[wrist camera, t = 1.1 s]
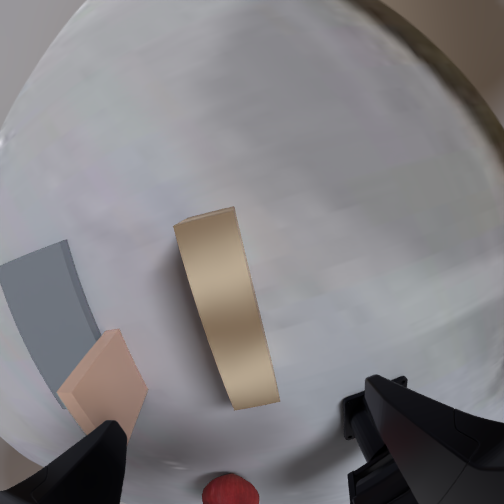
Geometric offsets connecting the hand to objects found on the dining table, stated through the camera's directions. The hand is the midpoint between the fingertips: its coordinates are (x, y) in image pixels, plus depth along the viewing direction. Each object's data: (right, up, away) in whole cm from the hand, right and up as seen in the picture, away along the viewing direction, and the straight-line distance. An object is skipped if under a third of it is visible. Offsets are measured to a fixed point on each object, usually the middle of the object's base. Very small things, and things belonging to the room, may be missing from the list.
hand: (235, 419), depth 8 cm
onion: (-2, -19, +15) cm, 24 cm away
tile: (-10, -3, +11) cm, 15 cm away
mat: (-16, -2, +11) cm, 19 cm away
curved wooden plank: (-1, +2, +11) cm, 11 cm away
